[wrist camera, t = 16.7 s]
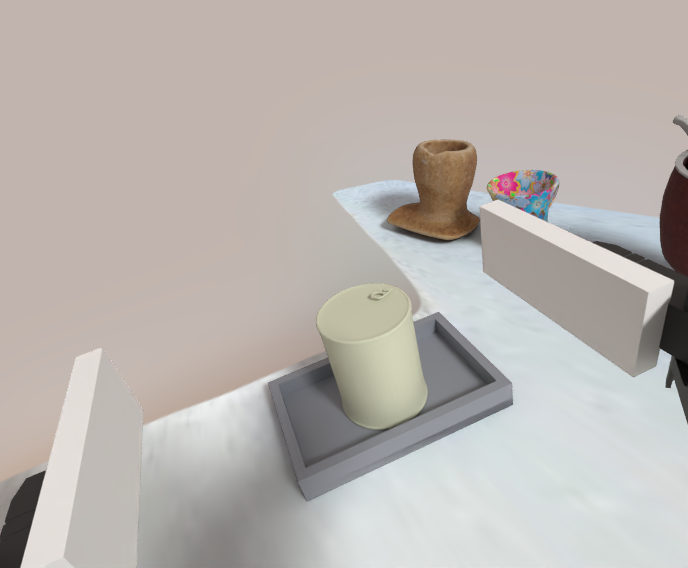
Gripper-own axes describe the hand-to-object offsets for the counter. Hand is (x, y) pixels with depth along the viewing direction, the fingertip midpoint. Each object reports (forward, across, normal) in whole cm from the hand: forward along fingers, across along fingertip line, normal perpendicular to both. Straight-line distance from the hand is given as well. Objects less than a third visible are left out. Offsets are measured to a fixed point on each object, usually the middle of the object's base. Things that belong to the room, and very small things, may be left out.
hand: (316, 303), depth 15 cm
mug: (+37, +39, -29) cm, 61 cm away
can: (+21, +7, -28) cm, 36 cm away
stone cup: (+53, +33, -29) cm, 69 cm away
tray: (+21, +7, -29) cm, 36 cm away
